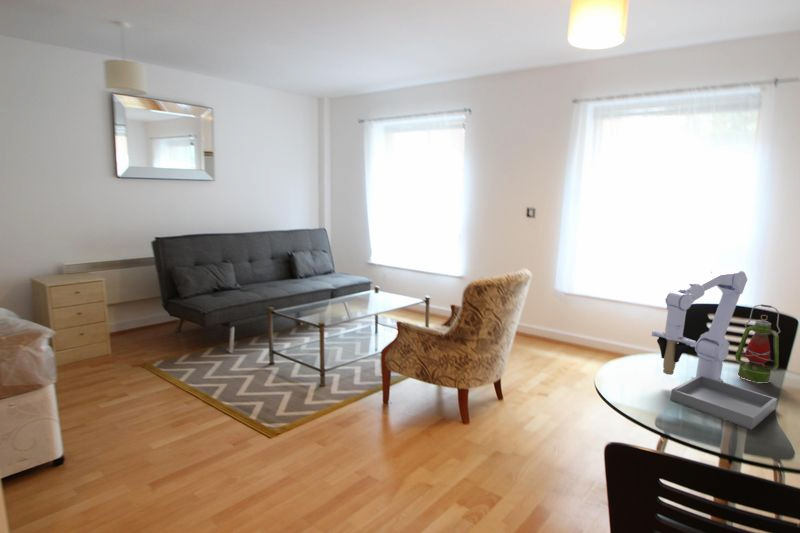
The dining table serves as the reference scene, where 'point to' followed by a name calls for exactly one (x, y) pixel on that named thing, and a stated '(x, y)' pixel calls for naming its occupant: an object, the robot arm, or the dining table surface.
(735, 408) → the bin
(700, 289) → the robot arm
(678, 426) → the dining table surface
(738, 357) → the lantern
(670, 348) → the handle
